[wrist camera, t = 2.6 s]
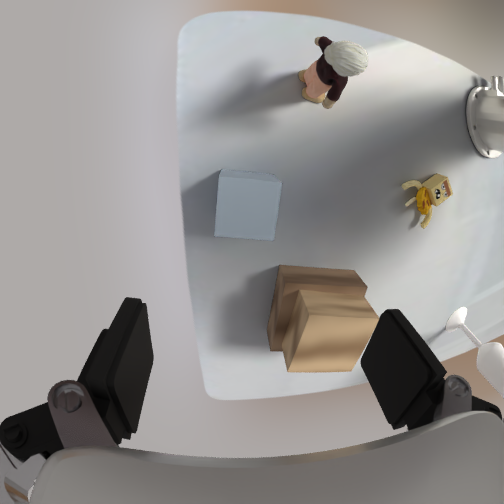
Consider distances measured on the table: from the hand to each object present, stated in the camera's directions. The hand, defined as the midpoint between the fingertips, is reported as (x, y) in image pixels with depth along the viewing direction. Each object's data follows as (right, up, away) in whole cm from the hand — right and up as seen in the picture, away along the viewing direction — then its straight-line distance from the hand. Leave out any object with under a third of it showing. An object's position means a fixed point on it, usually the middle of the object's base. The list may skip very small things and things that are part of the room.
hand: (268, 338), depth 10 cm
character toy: (+22, +12, +23) cm, 34 cm away
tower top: (+9, -6, +24) cm, 26 cm away
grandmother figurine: (+6, +23, +16) cm, 29 cm away
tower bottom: (+8, -4, +29) cm, 30 cm away
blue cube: (-1, +10, +22) cm, 24 cm away
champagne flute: (+43, -11, +34) cm, 56 cm away
